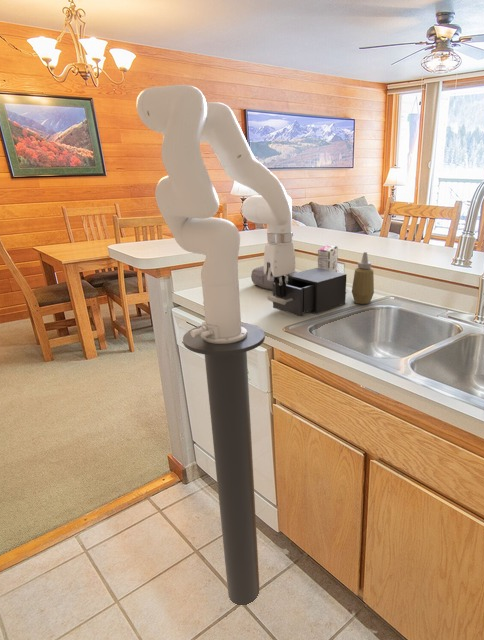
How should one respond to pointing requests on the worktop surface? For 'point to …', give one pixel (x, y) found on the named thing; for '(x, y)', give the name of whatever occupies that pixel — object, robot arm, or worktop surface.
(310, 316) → the worktop surface
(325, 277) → the grey open box
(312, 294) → the grey drawer with handle
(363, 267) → the squeeze bottle
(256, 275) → the soft grey pack
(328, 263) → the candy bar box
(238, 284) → the robot arm
